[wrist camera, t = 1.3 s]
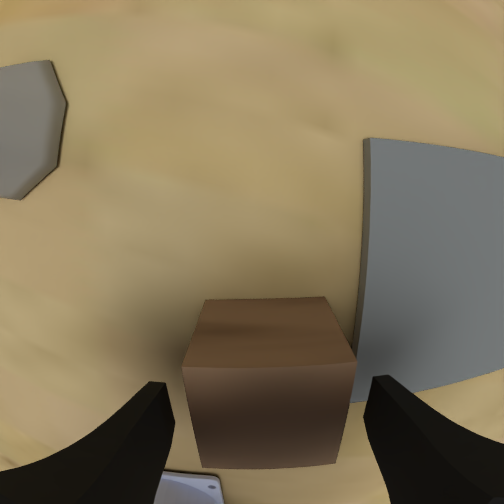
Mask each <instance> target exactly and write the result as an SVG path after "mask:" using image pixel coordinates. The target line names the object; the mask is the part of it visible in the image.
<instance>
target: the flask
mask: <svg viewBox="0 0 504 504" xmlns="http://www.w3.org/2000/svg"><path fill="white" fill-rule="evenodd" d="M65 106H66V102H65V99H64V97H63V94H62V92H61V89H60V86H59V84H58V81H57V79H56V76H55V73H54V70H53V68H52V65H51V62H50V60H43V61H34V62H28V63H22V64H16V65H11V66H6V67H1V68H0V198H7V199H15V200H21V199H22V198H23V197H24V196H25V195H26V194H27V193H28V192H29V191H30V190H31V189H32V188H33V187H34V186H35V185H36V184H38V183H39V182H40V181H41V180H42V179H43V178H44V177H45V176H46V175H47V174H49V173H50V172H51V171H52V170H53V169H54V168H55V167H56V166H57V158H58V150H59V142H60V135H61V129H62V123H63V117H64V112H65Z"/></svg>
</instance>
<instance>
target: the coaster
mask: <svg viewBox="0 0 504 504" xmlns="http://www.w3.org/2000/svg"><path fill="white" fill-rule="evenodd" d="M363 148H364V207H363V235H362V253H361V268H360V281H359V292H358V302H357V312H356V320H355V329H354V337H353V344H352V352H353V354H354V356H355V358H356V360H357V367H356V373H355V378H354V384H353V389H352V394H351V399H350V403H354V402H362V401H367V400H368V396H369V391H370V387H371V383H372V378H373V376H380V375H387V374H389V375H390V376H391V377H393V378H394V379H395V380H397V381H398V382H399V383H400V384H402V385H403V386H404V387H405V388H407V389H408V390H409V391H410V392H412V393H414V392H419V391H423V390H428V389H432V388H436V387H441V386H445V385H448V384H452V383H456V382H460V381H463V380H467V379H470V378H474V377H477V376H481V375H484V374H487V373H490V372H493V371H496V370H499V369H502V368H504V157H500V156H495V155H490V154H485V153H480V152H475V151H470V150H464V149H458V148H452V147H446V146H439V145H432V144H425V143H417V142H409V141H399V140H390V139H378V138H368V139H364V140H363Z"/></svg>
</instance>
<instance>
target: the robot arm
mask: <svg viewBox="0 0 504 504" xmlns="http://www.w3.org/2000/svg"><path fill="white" fill-rule="evenodd" d="M363 418H364V423H365V427H366V432H367V436H368V440H369V442H370V445H371V448H372V450H373V453H374V455H375V458H376V461H377V463H378V466H379V468H380V471H381V473H382V476H383V479H384V481H385V484H386V487H387V490H388V493H389V498H390V502H391V504H504V444H503V443H499V442H496V441H493V440H491V439H488V438H486V437H483V436H480V435H478V434H476V433H474V432H472V431H470V430H468V429H466V428H464V427H462V426H460V425H458V424H456V423H455V422H453V421H451V420H450V419H448V418H446V417H445V416H443V415H442V414H440V413H439V412H437V411H436V410H434V409H433V408H431V407H430V406H429V405H427V404H426V403H425V402H423V401H422V400H421V399H419V398H418V397H417V396H415V395H414V394H413V393H412V392H410V391H409V390H408V389H407V388H405V387H404V386H403V385H402V384H400V383H399V382H398V381H397V380H395V379H394V378H393V377H391V376H390V375H389V374H387V375H380V376H373V378H372V383H371V387H370V391H369V396H368V400H367V404H366V408H365V412H364V415H363ZM174 427H175V419H174V416H173V412H172V408H171V403H170V399H169V395H168V391H167V386H166V383H164V382H152V381H149V382H148V383H147V384H146V385H145V386H144V387H143V388H142V389H141V390H140V391H138V392H137V393H136V394H135V395H134V396H133V397H132V398H131V399H130V400H129V401H128V402H127V403H126V404H125V405H124V406H122V407H121V408H120V409H119V410H118V411H117V412H116V413H115V414H113V415H112V416H111V417H110V418H109V419H108V420H106V421H105V422H104V423H102V424H101V425H100V426H99V427H97V428H96V429H95V430H94V431H92V432H91V433H89V434H88V435H86V436H85V437H83V438H82V439H80V440H79V441H77V442H75V443H74V444H72V445H70V446H69V447H67V448H65V449H63V450H61V451H59V452H57V453H55V454H53V455H51V456H49V457H46V458H44V459H41V460H39V461H36V462H34V463H31V464H28V465H25V466H21V467H18V468H14V469H9V470H5V471H0V504H224V500H223V495H222V490H221V485H220V480H219V479H218V478H217V477H215V476H208V475H195V474H184V473H175V472H166V471H163V470H164V467H165V464H166V461H167V458H168V455H169V452H170V448H171V444H172V439H173V433H174Z"/></svg>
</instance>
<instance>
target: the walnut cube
mask: <svg viewBox="0 0 504 504" xmlns="http://www.w3.org/2000/svg"><path fill="white" fill-rule="evenodd" d="M356 367H357V360H356V358H355V356H354V354H353V352H352V350H351V348H350V346H349V344H348V342H347V340H346V338H345V336H344V334H343V332H342V330H341V328H340V326H339V324H338V322H337V320H336V318H335V316H334V314H333V312H332V310H331V308H330V306H329V304H328V302H327V300H326V299H325V297H304V298H275V299H226V300H205V303H204V306H203V308H202V311H201V314H200V317H199V319H198V322H197V325H196V327H195V330H194V333H193V336H192V338H191V341H190V344H189V347H188V349H187V352H186V355H185V358H184V360H183V363H182V366H181V369H182V374H183V380H184V385H185V391H186V396H187V401H188V406H189V411H190V416H191V421H192V425H193V430H194V434H195V439H196V443H197V448H198V452H199V456H200V460H201V464H202V468H219V469H278V468H295V467H308V466H318V465H327V464H335V463H336V459H337V455H338V452H339V448H340V444H341V440H342V436H343V431H344V427H345V423H346V418H347V414H348V409H349V404H350V399H351V394H352V389H353V384H354V378H355V373H356Z"/></svg>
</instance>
